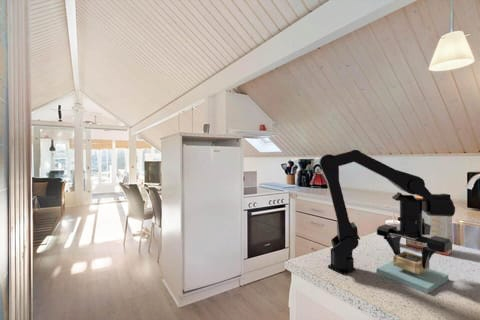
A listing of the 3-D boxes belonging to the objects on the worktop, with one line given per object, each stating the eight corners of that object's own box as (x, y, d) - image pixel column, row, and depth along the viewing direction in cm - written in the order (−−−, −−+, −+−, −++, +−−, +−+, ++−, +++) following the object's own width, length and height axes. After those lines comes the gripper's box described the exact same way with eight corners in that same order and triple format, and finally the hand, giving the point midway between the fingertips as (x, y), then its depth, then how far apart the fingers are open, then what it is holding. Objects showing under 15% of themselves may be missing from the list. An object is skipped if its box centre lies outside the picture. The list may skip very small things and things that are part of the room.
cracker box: (452, 252, 92) (452, 198, 92) (447, 256, 89) (447, 200, 88) (411, 242, 104) (410, 194, 103) (405, 245, 100) (404, 196, 100)
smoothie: (383, 244, 101) (383, 211, 101) (387, 240, 106) (386, 209, 106) (401, 248, 97) (401, 214, 97) (404, 243, 102) (404, 211, 102)
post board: (376, 272, 77) (376, 256, 77) (398, 262, 84) (398, 247, 84) (427, 293, 65) (427, 274, 65) (448, 279, 72) (448, 261, 72)
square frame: (393, 265, 76) (393, 256, 76) (404, 260, 80) (404, 251, 80) (418, 274, 70) (418, 264, 70) (429, 268, 74) (429, 258, 74)
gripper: (459, 217, 71) (459, 269, 71) (392, 206, 87) (393, 248, 87) (443, 223, 65) (443, 279, 65) (375, 210, 81) (376, 255, 81)
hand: (411, 263), depth 75 cm, fingers closed on square frame, 7 cm apart
